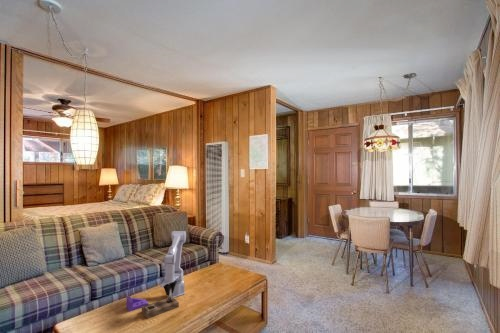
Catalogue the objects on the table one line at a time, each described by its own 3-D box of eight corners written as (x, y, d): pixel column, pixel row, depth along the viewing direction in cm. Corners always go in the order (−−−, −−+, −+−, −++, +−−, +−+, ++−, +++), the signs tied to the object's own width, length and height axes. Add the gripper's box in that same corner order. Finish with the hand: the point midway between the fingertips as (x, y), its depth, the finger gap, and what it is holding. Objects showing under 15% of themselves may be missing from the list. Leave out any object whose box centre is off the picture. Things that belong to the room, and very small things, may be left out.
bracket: (129, 312, 162) (129, 301, 162) (126, 307, 167) (126, 297, 167) (148, 306, 169) (148, 295, 169) (145, 301, 175) (145, 291, 175)
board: (171, 301, 175) (171, 296, 175) (178, 307, 168) (178, 302, 168) (141, 311, 162) (141, 306, 162) (147, 318, 155) (147, 313, 155)
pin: (170, 298, 171) (170, 286, 171) (172, 300, 169) (172, 287, 169) (166, 299, 169) (166, 287, 169) (168, 301, 167) (168, 289, 167)
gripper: (173, 268, 177) (173, 288, 177) (156, 275, 165) (156, 297, 165) (181, 270, 174) (181, 290, 174) (164, 278, 161) (164, 300, 161)
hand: (169, 293), depth 169 cm, fingers closed on pin, 3 cm apart
